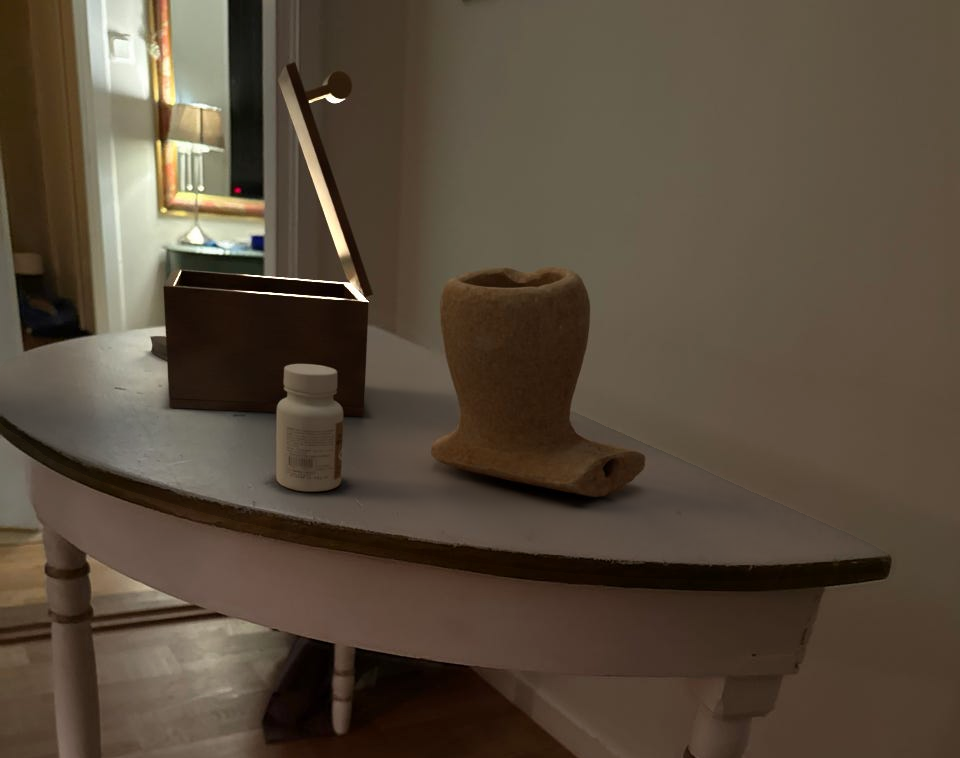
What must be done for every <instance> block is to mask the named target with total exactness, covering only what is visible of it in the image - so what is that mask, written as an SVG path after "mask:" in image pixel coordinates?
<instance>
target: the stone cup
mask: <svg viewBox="0 0 960 758" xmlns="http://www.w3.org/2000/svg"><path fill="white" fill-rule="evenodd" d="M439 319H440V321H439V323H440V329H441V336H442V342H443V348H444V354H445V358H446V363H447V367H448V370H449V374H450V377H451V380H452V383H453V384H452V385H453V387H454V391H455V395H456V397H457V401H458V402H457V403H458V406H459V412H460V414H459V420H458V425H457V427H456V428H455V430H454V431H452V432H450V433H448V434H446V435H444V436H442V437H440V438H439V439H437V440H436V441H435V442H433V444H432V445H431V447H430V454H431V456H432V458H434V459H435V460H436V461H437V462H439V463H442V464H445V465H448V466H451V467H454V468H457V469H460V470H464V471H467V472H471V473H475V474H481V475H485V476H489V477H493V478H497V479H502V480H505V481H506V480H507V481H511V482H515V483H521V484H526V485H531V486H535V487H541V488H545V489H550V490H555V491H561V492H565V493H571V494H575V495H576V494H577V495H581V496H584V497H585V496H586V497H594V498H599V497H604V496H606V495H609V494H612V493H614V492H616V491H618V490H620V489H622V488H624V487H625V486H626V485H627V484H629V483H631V482H633V481H634V479H635V478H636V477H637V476H638V475H640V473H642V472H643V471H644V469H645V466H646V455H645V454H643V453H641V452H640V451H637V450H633V449H628V448H624V447H620V446H615V445H611V444H609V443H608V444H607V443H604V442H600V441H596V440H592V439H589V438H586V437H584V436H582V435H581V434H579V433H577V432H576V429H574V427H573V426H572V423H571V419H570V417H571V408H572V402H573V398H574V394H575V391H576V387H577V384H578V380H579V377H580V373H581V372H582V371H581V370H582V366H583V363H584V359H585V355H586V351H587V347H588V341H589V333H590V324H591V322H590V321H591V302H590V297H589V292H588V290H587V288H586V286H585V283H584V281H583V279H582V277H581V276H580V275H579V274H578V273H577V272H575V271H573V270H572V269H569V268H562V267H558V266H544V267H541V268H539V269H538V270H534V271H531V272H527V273H526V272H523V271H519V270H516V269H513V268H508V267H493V268H492V267H491V268H484V269H479V270H473V271H469V272H466V273H464V274H461V275H456V276H453V277H452V278H450V279H449V280H448V282H446V284H445V285H444V287H443V290H442V292H441V296H440V303H439Z"/></svg>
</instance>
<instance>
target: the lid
mask: <svg viewBox="0 0 960 758" xmlns="http://www.w3.org/2000/svg"><path fill="white" fill-rule="evenodd" d="M277 81H278V85H279V87H280V90H281V92H282V95H283V98H284V99H283V100H284V102H285V104H286V108H287V110H288V113H289V117H290V119H291V121H292V124H293V127H294V131H295V133H296V136H297V139H298V141H299V145H300V147H301V151H302V153H303V156H304V159H305V162H306V164H307V168H308V170H309V173H310V176H311V179H312V182H313V185H314V188H315V190H316V194H317V196H318V199H319V201H320V202H319V203H320V205H321V209H322V211H323V213H324V216H325V220H326V222H327V226H328V229H329V231H330V235H331V237H332V240H333V243H334V247H335V248H336V252H337V255H338V257H339V259H340V263H341V266H342V269H343V271H344V274H345V278H346V280H347V281H348V283H351V284H352V286H353V287H354V288H355V289H356V290H357V291H358V292H359V293H360V294H361V295H362V296H363V297H364V298H367V297H371V296H373V295H374V293H373V289H372V286H371V283H370V280H369V278H368V275H367V272H366V269H365V265H364V262H363V259H362V256H361V254H360V251H359V247H358V244H357V242H356V239H355V235H354V233H353V230H352V227H351V224H350V221H349V218H348V215H347V212H346V209H345V205H344V202H343V200H342V197H341V194H340V190H339V188H338V184H337V183H336V180H335V176H334V173H333V169H332V167H331V164H330V162H329V158H328V155H327V152H326V150H325V147H324V143H323V140H322V138H321V134H320V131H319V128H318V126H317V123H316V119H315V117H314V114H313V111H312V108H311V104H310V103H313V102H315V101H319V100H321V99H324V98H325V99H326V100H327V101H328V102H330V103H332V104H337V103H340V102H342V101H344V100H346V99H347V98H348V97H350V95H351V94H352V92H353V82H352V79H351V77H350V75H348V74H347V72H345V71H342V70H334V71H332V72H331V73H330V74H329V75H328V76H327V77H326V78H325V79H324V80H323V82H322V85H320V86H317V87H314V88H312V89H309V90H305V87H304V83H303V81H302V78H301V75H300V73H299V69H298V66H297V63H296V62H295V61H293V62H290V63H287V64H285V66H284V67H283V70H282V71H281V73H280V75H279V77H278V78H277Z"/></svg>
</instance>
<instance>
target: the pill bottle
mask: <svg viewBox="0 0 960 758" xmlns="http://www.w3.org/2000/svg"><path fill="white" fill-rule="evenodd" d="M283 384H284V386H285V387H284V390H285V391H287V397H286V398H284V399H282V400H281V401H280V402H279V403H278V405H277V413H276V415H275V416H276V418H275V419H276V420H275V421H276V425H275V426H276V427H275V430H276V432H275V433H276V437H275V438H276V441H275V443H276V444H275V446H276V447H275V448H276V451H275V452H276V453H275V456H276V457H275V458H276V459H275V469H276V470H275V471H276V472H275V477H276V481H277V483H278V484H280V485H281V486H282V487H284V488H287V489H290V490H294V491H299V492H308V493H311V492H312V493H314V492H324V491H331V490H333V489H335V488H337V487H339V486H340V484H341V483H342V466H343V465H342V464H343V437H344V436H343V435H344V416H343V409H342V407H341V405H340V404H339V403H337V402H336V401H334V400H333V395H334V394H336V393H337V391H336V389H337V371H336V370H335V369H333V368H330V367H326V366H321V365H313V364H292V365H287V366H285V368H284V383H283Z"/></svg>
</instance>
